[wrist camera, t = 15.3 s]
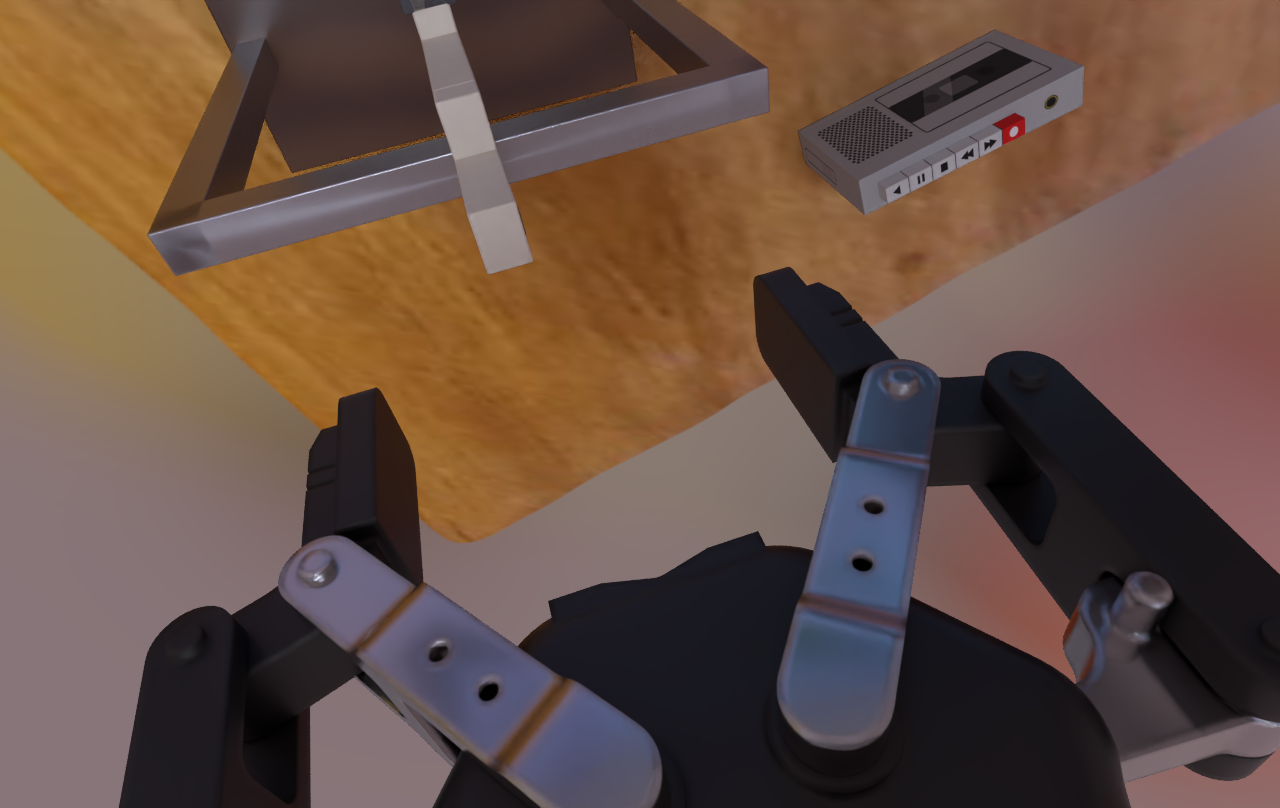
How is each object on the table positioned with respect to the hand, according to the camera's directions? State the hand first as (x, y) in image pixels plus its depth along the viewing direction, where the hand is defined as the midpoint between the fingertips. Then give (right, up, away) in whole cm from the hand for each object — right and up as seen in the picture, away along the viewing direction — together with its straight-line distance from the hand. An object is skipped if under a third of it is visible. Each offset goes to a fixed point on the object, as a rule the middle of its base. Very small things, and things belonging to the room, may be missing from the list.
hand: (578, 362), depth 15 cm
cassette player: (+20, +22, +39) cm, 49 cm away
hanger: (-6, +11, +15) cm, 20 cm away
